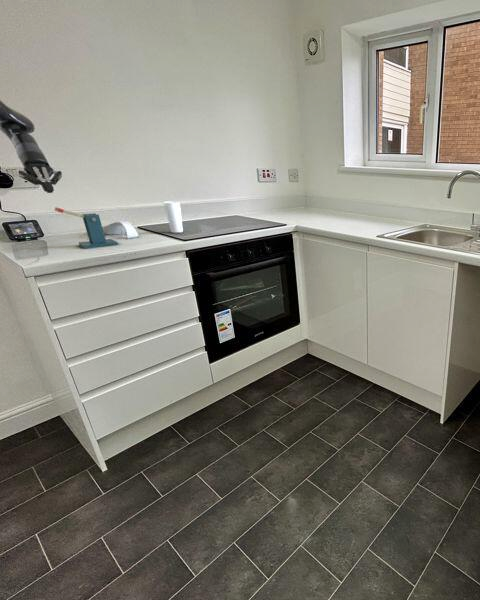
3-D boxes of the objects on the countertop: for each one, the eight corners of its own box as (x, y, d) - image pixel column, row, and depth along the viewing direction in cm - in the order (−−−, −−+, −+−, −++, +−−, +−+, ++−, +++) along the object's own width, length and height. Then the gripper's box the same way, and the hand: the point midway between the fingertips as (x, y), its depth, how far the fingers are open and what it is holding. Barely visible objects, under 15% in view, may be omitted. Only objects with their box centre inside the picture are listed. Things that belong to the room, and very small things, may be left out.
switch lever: (58, 213, 135) (59, 207, 134) (54, 211, 138) (55, 205, 138) (97, 223, 145) (98, 218, 145) (92, 221, 148) (94, 216, 148)
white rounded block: (94, 233, 169) (90, 218, 166) (122, 230, 179) (118, 216, 176) (119, 240, 159) (115, 224, 156) (147, 236, 168) (144, 221, 166)
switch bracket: (85, 248, 142) (76, 216, 138) (79, 245, 147) (69, 214, 143) (118, 244, 151) (110, 214, 146) (110, 241, 156) (103, 212, 151)
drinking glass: (183, 230, 184) (178, 201, 178) (186, 232, 179) (180, 202, 174) (168, 231, 180) (162, 201, 174) (170, 234, 175) (164, 203, 170)
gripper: (7, 149, 132) (25, 185, 130) (54, 151, 142) (71, 184, 140) (9, 163, 137) (27, 198, 135) (55, 164, 147) (72, 197, 145)
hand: (50, 191), depth 137 cm, fingers closed
